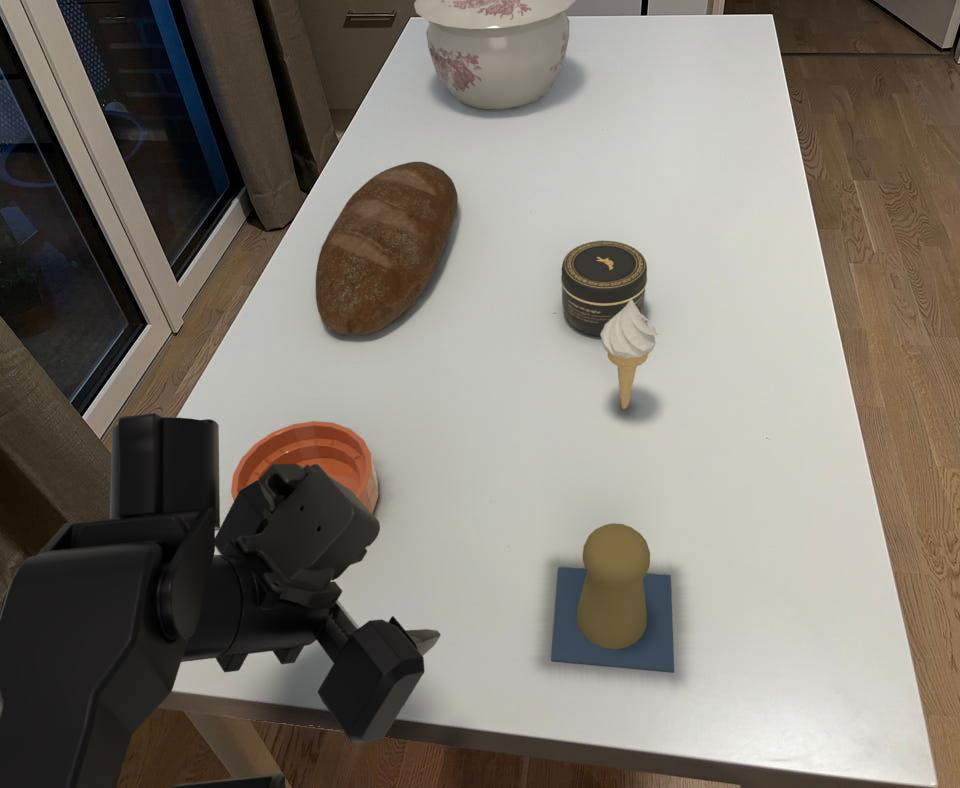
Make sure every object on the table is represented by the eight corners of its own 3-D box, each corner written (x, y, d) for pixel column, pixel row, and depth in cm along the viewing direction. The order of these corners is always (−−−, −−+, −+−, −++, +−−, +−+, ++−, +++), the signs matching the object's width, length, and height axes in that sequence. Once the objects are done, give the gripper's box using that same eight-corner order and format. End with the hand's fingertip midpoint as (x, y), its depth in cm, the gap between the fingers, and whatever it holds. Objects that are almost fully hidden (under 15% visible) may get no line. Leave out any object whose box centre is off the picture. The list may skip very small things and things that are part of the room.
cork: (608, 663, 65) (614, 592, 58) (562, 611, 69) (561, 537, 61) (662, 622, 68) (674, 548, 60) (614, 574, 71) (619, 498, 64)
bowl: (327, 578, 74) (316, 551, 70) (216, 528, 79) (202, 500, 76) (404, 474, 82) (397, 445, 79) (299, 435, 87) (289, 406, 84)
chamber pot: (551, 136, 131) (549, 3, 116) (401, 120, 139) (382, -5, 125) (595, 66, 149) (598, -56, 134) (460, 56, 157) (449, -60, 143)
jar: (587, 280, 103) (588, 230, 97) (658, 304, 98) (663, 253, 93) (546, 323, 97) (544, 272, 92) (619, 351, 93) (622, 299, 87)
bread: (476, 189, 121) (471, 137, 115) (412, 347, 96) (402, 292, 90) (378, 185, 124) (368, 134, 118) (292, 337, 99) (275, 283, 93)
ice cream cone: (653, 425, 84) (665, 315, 73) (600, 428, 84) (604, 318, 74) (646, 388, 88) (656, 279, 77) (595, 391, 88) (598, 282, 78)
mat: (551, 661, 66) (551, 659, 66) (558, 568, 72) (558, 566, 72) (673, 672, 65) (674, 670, 64) (670, 576, 71) (670, 575, 71)
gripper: (367, 603, 38) (542, 590, 50) (201, 401, 49) (378, 431, 61) (265, 776, 40) (456, 723, 53) (129, 547, 51) (313, 547, 64)
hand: (398, 594), depth 57 cm, fingers open, 9 cm apart
